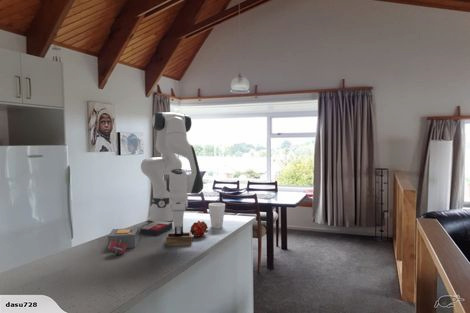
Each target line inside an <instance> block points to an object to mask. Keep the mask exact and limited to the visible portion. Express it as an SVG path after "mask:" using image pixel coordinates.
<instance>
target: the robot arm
mask: <svg viewBox="0 0 470 313" xmlns="http://www.w3.org/2000/svg"><path fill="white" fill-rule="evenodd" d="M192 124H193V123H192V118H191V116H190V115H189V114H184V113H178V112H166V111H165V112H162V111H156V112H154V114H153V116H152V118H151V125H152V128H153V129H154V130H156V131H157V133H156V140H155V150H156V151H157V152H159V153H160V154H162V156H159V157H157V156H156V157H154V156H153V157H148V158H144V159H143V160H142V161H141V163H140V170H141V172H142V174H144V175H145V176H146V177H147V178H148V179H149V181H150V183H151V185H152V200H151V203H152V205H150V207H149V216H148V217H147V218H146V220H147V221H149V222H152V223H153V222H155V221H161V222H173V225H174V228H175V227H176V228H177V234H179V233H181V227H182V225H183V226H184V214H185V210H186V208H188V206H189V199H188V198H189V196H188V194H191V195H192V194H193V195H198V194H200V193H201V192H202V191H203V189H204V180H203V178H202V174H201V170H200V166H199V162H198V159H197V155H196V150H195V148H194V146H193V145H192V144H190V142H189V141H188V134H187V133H188V132H189V131H190V130H191V128H192ZM177 155H179V156H182V157H183V158H185V159H187V160H188V162H189V167H190V171H191V173H190V174H187V171H186V170H185V169H182V168H183V163H182V160H181V159H180V158H179V157H178V156H177ZM164 175H169V176H168V177H167V178H166V179H164V177H163V176H164Z"/></svg>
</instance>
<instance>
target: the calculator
mask: <svg viewBox="0 0 470 313" xmlns="http://www.w3.org/2000/svg"><path fill="white" fill-rule="evenodd" d="M172 229H173V222H172V221H167V222H161V221H155V222H153V221H152V222H150V223H148V224H146V225H144V226H142V227H141V228H140V229H139V234H140V235H148V236H156V237H158V236H160V235H162V234H164V233H166V232H169V231H171V230H172Z"/></svg>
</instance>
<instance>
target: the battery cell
mask: <svg viewBox="0 0 470 313" xmlns="http://www.w3.org/2000/svg"><path fill="white" fill-rule="evenodd" d="M174 233H175V237H179V236H183V233H184V224H183V225H182V227H181V233H179V234H177V228H176V227H175V226H174Z"/></svg>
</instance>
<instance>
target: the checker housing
mask: <svg viewBox="0 0 470 313" xmlns="http://www.w3.org/2000/svg"><path fill="white" fill-rule="evenodd" d="M121 229H122V228H113V229H112V230H111V231H110V232H109V234H108V235H107V249H108V250H109V244H110V242H111V241H112V240H113V241H114V240H116V241H117V242H120V240H122V241H121V242H120V243H124V244H125V243H126V244H128V245H127V247H126V249H133V248H134V249H135V248H136V246H137V244H138V242H139V228H138V227H136V228H135V227H134V228H128V229H131V233H128V234H116V232H117V231H118V230H121Z"/></svg>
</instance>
